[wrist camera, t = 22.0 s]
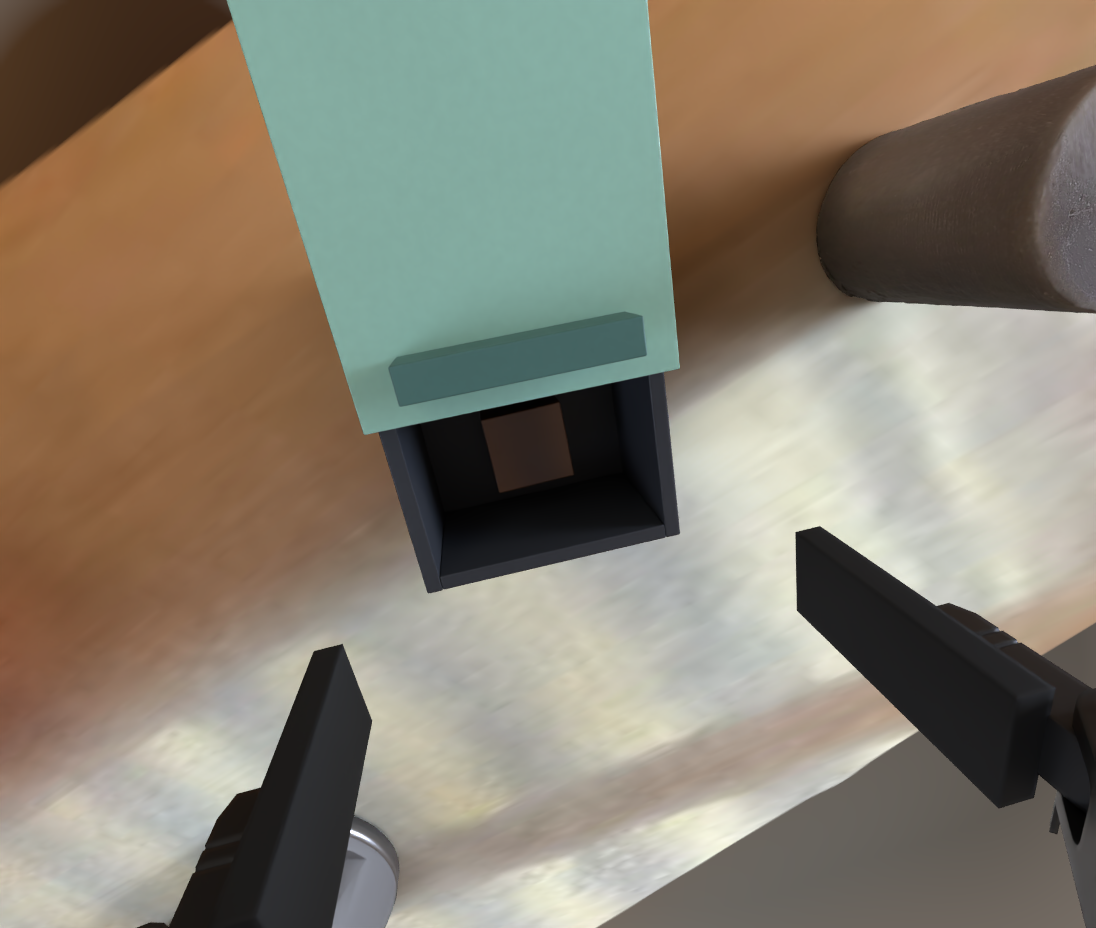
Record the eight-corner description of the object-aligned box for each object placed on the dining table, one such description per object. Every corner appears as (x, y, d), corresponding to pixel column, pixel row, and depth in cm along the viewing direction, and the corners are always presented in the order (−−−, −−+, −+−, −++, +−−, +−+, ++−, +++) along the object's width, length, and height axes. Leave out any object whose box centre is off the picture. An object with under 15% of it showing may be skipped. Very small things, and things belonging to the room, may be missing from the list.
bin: (436, 520, 36) (427, 594, 28) (361, 257, 30) (323, 251, 22) (632, 476, 37) (680, 534, 29) (598, 213, 31) (646, 192, 23)
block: (495, 467, 34) (499, 494, 30) (478, 401, 33) (480, 420, 29) (561, 451, 35) (574, 475, 30) (548, 385, 33) (560, 401, 29)
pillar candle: (826, 321, 35) (1065, 355, 21) (803, 161, 32) (1074, 73, 18) (962, 270, 35) (1289, 269, 21) (956, 104, 32) (1342, -27, 18)
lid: (367, 429, 24) (352, 453, 21) (215, -58, 18) (161, -130, 15) (672, 365, 25) (703, 378, 22) (627, -115, 19) (661, -193, 16)
